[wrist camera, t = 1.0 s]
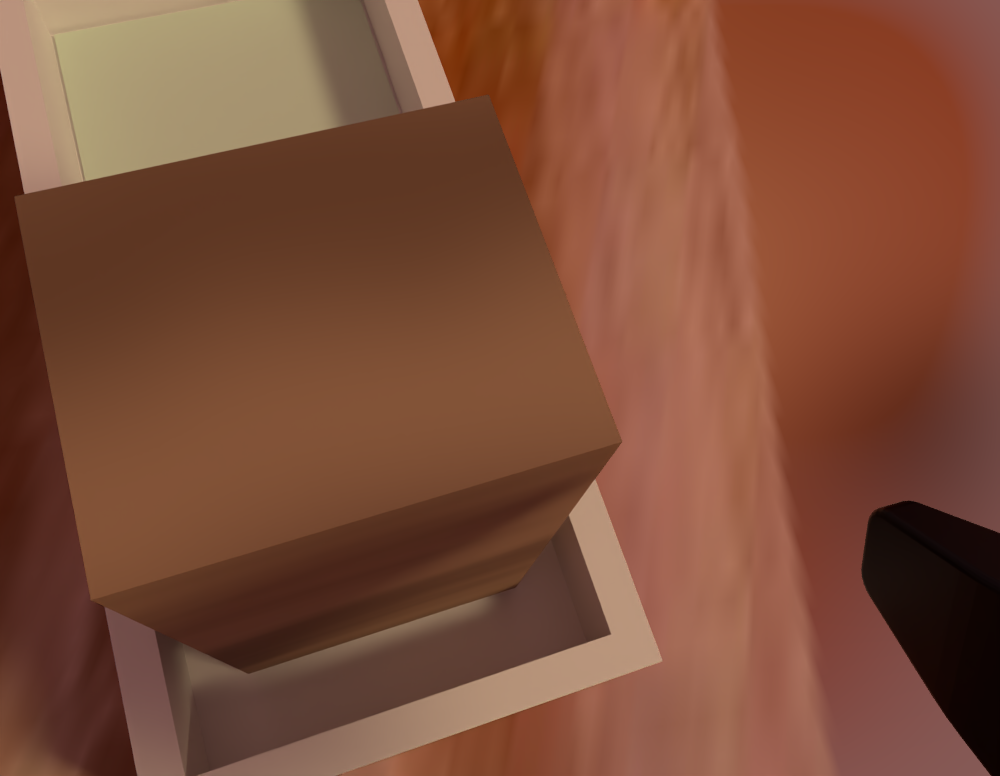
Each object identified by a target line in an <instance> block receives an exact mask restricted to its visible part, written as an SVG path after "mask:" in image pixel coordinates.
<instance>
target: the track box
mask: <svg viewBox="0 0 1000 776" xmlns="http://www.w3.org/2000/svg"><path fill="white" fill-rule="evenodd" d="M0 71H1V76H2V81H3V86H4V91H5V96H6V102H7V107H8V112H9V117H10V122H11V127H12V133H13V138H14V143H15V148H16V153H17V158H18V164H19V169H20V174H21V179H22V184H23V189H24V194H27V193H32V192H37V191H41V190H46V189H51V188H55V187H60V186H65V185H70V184H74V183H79V182H84V181H88V180H93V179H98V178H102V177H107V176H112V175H116V174H121V173H126V172H130V171H135V170H140V169H144V168H149V167H154V166H158V165H163V164H168V163H172V162H177V161H182V160H186V159H191V158H196V157H200V156H205V155H210V154H214V153H219V152H224V151H228V150H233V149H238V148H242V147H247V146H252V145H256V144H261V143H266V142H270V141H275V140H280V139H284V138H289V137H294V136H298V135H303V134H308V133H312V132H317V131H322V130H326V129H331V128H336V127H340V126H345V125H350V124H354V123H359V122H364V121H368V120H373V119H378V118H382V117H387V116H392V115H396V114H401V113H406V112H410V111H415V110H420V109H424V108H429V107H434V106H438V105H443V104H448V103H452V102H455V100H454V97H453V94H452V92H451V89H450V86H449V84H448V81H447V78H446V76H445V73H444V70H443V67H442V65H441V62H440V59H439V57H438V54H437V51H436V49H435V46H434V43H433V41H432V38H431V35H430V32H429V30H428V27H427V24H426V22H425V19H424V16H423V14H422V11H421V8H420V5H419V3H418V0H0ZM105 612H106V617H107V623H108V628H109V633H110V638H111V643H112V648H113V653H114V659H115V664H116V669H117V674H118V679H119V684H120V690H121V695H122V700H123V705H124V710H125V715H126V720H127V726H128V731H129V736H130V741H131V746H132V751H133V757H134V762H135V767H136V772H137V776H337V775H340V774H342V773H345V772H348V771H351V770H354V769H357V768H359V767H362V766H365V765H368V764H371V763H374V762H377V761H379V760H382V759H385V758H388V757H391V756H394V755H397V754H399V753H402V752H405V751H408V750H411V749H414V748H416V747H419V746H422V745H425V744H428V743H431V742H434V741H436V740H439V739H442V738H445V737H448V736H451V735H454V734H456V733H459V732H462V731H465V730H468V729H471V728H474V727H476V726H479V725H482V724H485V723H488V722H491V721H493V720H496V719H499V718H502V717H505V716H508V715H511V714H513V713H516V712H519V711H522V710H525V709H528V708H531V707H533V706H536V705H539V704H542V703H545V702H548V701H550V700H553V699H556V698H559V697H562V696H565V695H568V694H570V693H573V692H576V691H579V690H582V689H585V688H588V687H590V686H593V685H596V684H599V683H602V682H605V681H608V680H610V679H613V678H616V677H619V676H622V675H625V674H627V673H630V672H633V671H636V670H639V669H642V668H645V667H647V666H650V665H653V664H656V663H659V662H662V658H661V655H660V653H659V650H658V647H657V645H656V642H655V639H654V636H653V634H652V631H651V628H650V626H649V623H648V620H647V618H646V615H645V612H644V609H643V607H642V604H641V601H640V599H639V596H638V593H637V591H636V588H635V585H634V583H633V580H632V577H631V574H630V572H629V569H628V566H627V564H626V561H625V558H624V556H623V553H622V550H621V547H620V545H619V542H618V539H617V537H616V534H615V531H614V529H613V526H612V523H611V520H610V518H609V515H608V512H607V510H606V507H605V504H604V502H603V499H602V496H601V494H600V491H599V488H598V485H597V483H596V480H594V481H593V482H592V484H591V485H590V487H589V488H588V489H587V491H586V492H585V493H584V495H583V496H582V498H581V499H580V500H579V502H578V503H577V504H576V506H575V507H574V508H573V510H572V511H571V513H570V514H569V515H568V517H567V518H566V519H565V521H564V522H563V524H562V525H561V526H560V528H559V529H558V530H557V532H556V533H555V535H554V536H553V537H552V539H551V540H550V541H549V543H548V544H547V545H546V547H545V548H544V550H543V551H542V552H541V554H540V555H539V556H538V558H537V559H536V561H535V562H534V563H533V565H532V566H531V567H530V569H529V570H528V572H527V573H526V574H525V576H524V577H523V578H522V580H521V581H520V583H519V584H518V585H517V587H516V588H513V589H510V590H507V591H504V592H501V593H498V594H494V595H491V596H488V597H485V598H482V599H479V600H476V601H473V602H470V603H467V604H464V605H460V606H457V607H454V608H451V609H448V610H445V611H442V612H439V613H436V614H433V615H429V616H426V617H423V618H420V619H417V620H414V621H411V622H408V623H405V624H402V625H399V626H395V627H392V628H389V629H386V630H383V631H380V632H377V633H374V634H371V635H368V636H365V637H361V638H358V639H355V640H352V641H349V642H346V643H343V644H340V645H337V646H334V647H331V648H327V649H324V650H321V651H318V652H315V653H312V654H309V655H306V656H303V657H300V658H297V659H293V660H290V661H287V662H284V663H281V664H278V665H275V666H272V667H269V668H266V669H262V670H259V671H256V672H253V673H250V674H247V673H245V672H243V671H241V670H239V669H237V668H234V667H232V666H230V665H228V664H226V663H224V662H222V661H219V660H217V659H215V658H213V657H211V656H209V655H207V654H205V653H202V652H200V651H198V650H196V649H194V648H192V647H190V646H187V645H185V644H183V643H181V642H179V641H177V640H175V639H172V638H170V637H168V636H166V635H164V634H162V633H160V632H157V631H155V630H153V629H151V628H149V627H147V626H145V625H143V624H140V623H138V622H136V621H134V620H132V619H130V618H128V617H125V616H123V615H121V614H119V613H117V612H115V611H113V610H110V609H108V608H106V607H105Z"/></svg>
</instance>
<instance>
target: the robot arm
mask: <svg viewBox="0 0 1000 776" xmlns="http://www.w3.org/2000/svg"><path fill="white" fill-rule="evenodd" d="M861 570H862V578H863V582H864V585H865V588H866V590H867V592H868V594H869V596H870V597H871V599H872V600H873V602H874V604H875V605H876V607H877V608H878V610H879V611H880V613H881V615H882V616H883V618H884V619H885V621H886V623H887V624H888V626H889V628H890V629H891V631H892V632H893V634H894V636H895V637H896V639H897V640H898V642H899V644H900V645H901V647H902V648H903V650H904V652H905V653H906V655H907V656H908V658H909V659H910V661H911V663H912V664H913V666H914V668H915V669H916V671H917V672H918V674H919V675H920V677H921V679H922V680H923V682H924V684H925V685H926V687H927V688H928V690H929V691H930V693H931V695H932V696H933V698H934V699H935V701H936V702H937V704H938V705H939V707H940V708H941V710H942V711H943V713H944V714H945V716H946V717H947V718H948V720H949V721H950V723H951V724H952V725H953V727H954V728H955V729H956V731H957V732H958V733H959V735H960V736H961V737H962V739H963V740H964V741H965V743H966V744H967V745H968V746H969V748H970V749H971V750H972V752H973V753H974V754H975V755H976V757H977V758H978V759H979V761H980V762H981V763H982V765H983V766H984V767H985V768H986V770H987V771H988V772H989V774H990V775H991V776H1000V533H998V532H995V531H993V530H990V529H987V528H985V527H982V526H979V525H977V524H974V523H971V522H969V521H966V520H963V519H960V518H958V517H955V516H953V515H950V514H947V513H944V512H942V511H939V510H937V509H934V508H931V507H928V506H926V505H923V504H920V503H918V502H914V501H902V502H899V503H895V504H892V505H888V506H885V507H881V508H878V509H876V510H874V511H873V513H872V514H871V516H870V517H869V520H868V526H867V533H866V539H865V546H864V553H863V560H862V569H861Z"/></svg>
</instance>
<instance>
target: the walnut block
mask: <svg viewBox="0 0 1000 776" xmlns="http://www.w3.org/2000/svg"><path fill="white" fill-rule="evenodd" d="M14 199H15V204H16V209H17V215H18V220H19V225H20V230H21V236H22V241H23V246H24V251H25V257H26V262H27V267H28V272H29V278H30V283H31V288H32V294H33V299H34V304H35V309H36V315H37V320H38V325H39V330H40V336H41V341H42V346H43V351H44V357H45V362H46V367H47V373H48V378H49V383H50V388H51V394H52V399H53V404H54V409H55V415H56V420H57V425H58V431H59V436H60V441H61V446H62V452H63V457H64V462H65V467H66V473H67V478H68V483H69V488H70V494H71V499H72V504H73V510H74V515H75V520H76V525H77V531H78V536H79V541H80V546H81V552H82V557H83V562H84V568H85V573H86V578H87V583H88V589H89V594H90V599H91V601H93V602H95V603H98V604H100V605H102V606H104V607H106V608H108V609H110V610H113V611H115V612H117V613H119V614H121V615H123V616H125V617H128V618H130V619H132V620H134V621H136V622H138V623H140V624H143V625H145V626H147V627H149V628H151V629H153V630H155V631H157V632H160V633H162V634H164V635H166V636H168V637H170V638H172V639H175V640H177V641H179V642H181V643H183V644H185V645H187V646H190V647H192V648H194V649H196V650H198V651H200V652H202V653H205V654H207V655H209V656H211V657H213V658H215V659H217V660H219V661H222V662H224V663H226V664H228V665H230V666H232V667H234V668H237V669H239V670H241V671H243V672H245V673H247V674H250V673H253V672H256V671H259V670H262V669H266V668H269V667H272V666H275V665H278V664H281V663H284V662H287V661H290V660H293V659H297V658H300V657H303V656H306V655H309V654H312V653H315V652H318V651H321V650H324V649H327V648H331V647H334V646H337V645H340V644H343V643H346V642H349V641H352V640H355V639H358V638H361V637H365V636H368V635H371V634H374V633H377V632H380V631H383V630H386V629H389V628H392V627H395V626H399V625H402V624H405V623H408V622H411V621H414V620H417V619H420V618H423V617H426V616H429V615H433V614H436V613H439V612H442V611H445V610H448V609H451V608H454V607H457V606H460V605H464V604H467V603H470V602H473V601H476V600H479V599H482V598H485V597H488V596H491V595H494V594H498V593H501V592H504V591H507V590H510V589H513V588H516V587H517V585H518V584H519V583H520V581H521V580H522V578H523V577H524V576H525V574H526V573H527V572H528V570H529V569H530V567H531V566H532V565H533V563H534V562H535V561H536V559H537V558H538V556H539V555H540V554H541V552H542V551H543V550H544V548H545V547H546V545H547V544H548V543H549V541H550V540H551V539H552V537H553V536H554V535H555V533H556V532H557V530H558V529H559V528H560V526H561V525H562V524H563V522H564V521H565V519H566V518H567V517H568V515H569V514H570V513H571V511H572V510H573V508H574V507H575V506H576V504H577V503H578V502H579V500H580V499H581V498H582V496H583V495H584V493H585V492H586V491H587V489H588V488H589V487H590V485H591V484H592V482H593V481H594V480H595V478H596V477H597V476H598V474H599V473H600V471H601V470H602V469H603V467H604V466H605V465H606V463H607V462H608V460H609V459H610V458H611V456H612V455H613V454H614V452H615V451H616V450H617V448H618V447H619V445H620V444H621V443H622V440H621V437H620V435H619V432H618V429H617V427H616V424H615V422H614V419H613V417H612V414H611V411H610V409H609V406H608V404H607V401H606V398H605V396H604V393H603V391H602V388H601V385H600V383H599V380H598V378H597V375H596V372H595V370H594V367H593V365H592V362H591V359H590V357H589V354H588V352H587V349H586V346H585V344H584V341H583V339H582V336H581V333H580V331H579V328H578V326H577V323H576V320H575V318H574V315H573V313H572V310H571V307H570V305H569V302H568V300H567V297H566V294H565V292H564V289H563V287H562V284H561V281H560V279H559V276H558V274H557V271H556V268H555V266H554V263H553V261H552V258H551V256H550V253H549V250H548V248H547V245H546V243H545V240H544V237H543V235H542V232H541V230H540V227H539V224H538V222H537V219H536V217H535V214H534V211H533V209H532V206H531V204H530V201H529V198H528V196H527V193H526V191H525V188H524V185H523V183H522V180H521V178H520V175H519V172H518V170H517V167H516V165H515V162H514V159H513V157H512V154H511V152H510V149H509V146H508V144H507V141H506V139H505V136H504V133H503V131H502V128H501V126H500V123H499V120H498V118H497V115H496V113H495V110H494V107H493V105H492V102H491V100H490V97H489V95H485V96H481V97H476V98H471V99H466V100H462V101H457V102H452V103H448V104H443V105H438V106H434V107H429V108H424V109H420V110H415V111H410V112H406V113H401V114H396V115H392V116H387V117H382V118H378V119H373V120H368V121H364V122H359V123H354V124H350V125H345V126H340V127H336V128H331V129H326V130H322V131H317V132H312V133H308V134H303V135H298V136H294V137H289V138H284V139H280V140H275V141H270V142H266V143H261V144H256V145H252V146H247V147H242V148H238V149H233V150H228V151H224V152H219V153H214V154H210V155H205V156H200V157H196V158H191V159H186V160H182V161H177V162H172V163H168V164H163V165H158V166H154V167H149V168H144V169H140V170H135V171H130V172H126V173H121V174H116V175H112V176H107V177H102V178H98V179H93V180H88V181H84V182H79V183H74V184H70V185H65V186H60V187H55V188H51V189H46V190H41V191H37V192H32V193H27V194H23V195H18V196H14Z"/></svg>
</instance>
